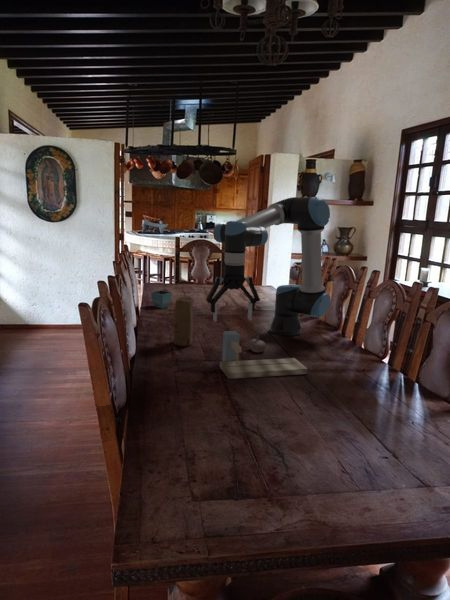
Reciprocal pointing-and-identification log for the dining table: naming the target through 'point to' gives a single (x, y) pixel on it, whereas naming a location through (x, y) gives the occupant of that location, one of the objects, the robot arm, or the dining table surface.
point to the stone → (183, 321)
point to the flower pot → (161, 298)
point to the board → (262, 368)
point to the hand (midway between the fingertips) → (232, 320)
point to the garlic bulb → (257, 344)
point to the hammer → (231, 346)
